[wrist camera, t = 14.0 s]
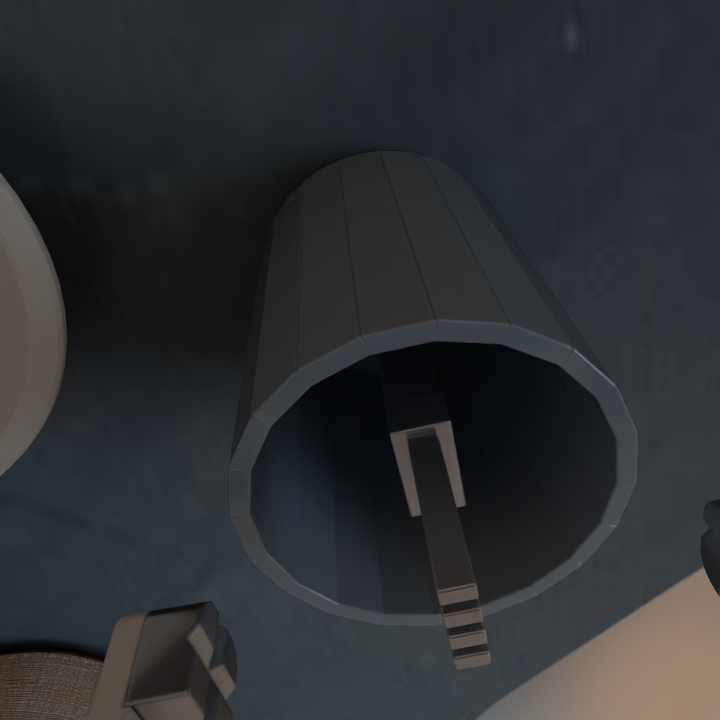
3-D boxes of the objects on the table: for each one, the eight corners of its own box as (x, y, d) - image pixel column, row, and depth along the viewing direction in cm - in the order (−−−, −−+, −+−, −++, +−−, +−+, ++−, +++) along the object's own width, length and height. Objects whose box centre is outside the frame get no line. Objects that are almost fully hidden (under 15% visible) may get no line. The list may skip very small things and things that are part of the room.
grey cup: (490, 122, 18) (642, 274, 10) (513, 346, 22) (635, 587, 14) (228, 184, 19) (164, 380, 10) (298, 392, 23) (292, 654, 14)
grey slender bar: (397, 237, 19) (496, 575, 9) (411, 306, 21) (511, 665, 11) (358, 246, 19) (414, 591, 10) (374, 314, 21) (439, 678, 11)
